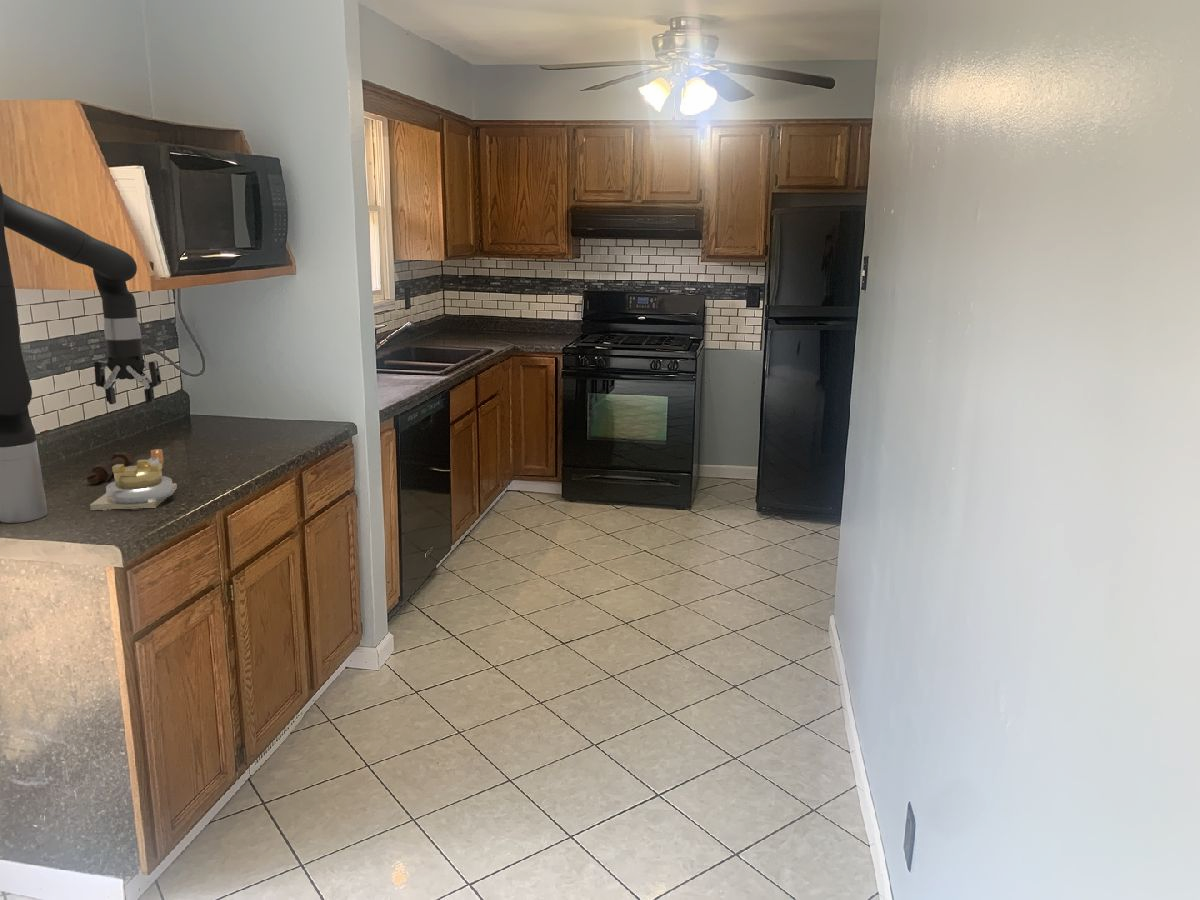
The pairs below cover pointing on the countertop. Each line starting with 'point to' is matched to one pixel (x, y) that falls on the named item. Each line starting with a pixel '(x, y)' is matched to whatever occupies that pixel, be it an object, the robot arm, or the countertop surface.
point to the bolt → (108, 468)
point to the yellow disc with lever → (140, 472)
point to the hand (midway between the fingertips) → (131, 403)
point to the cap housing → (134, 496)
